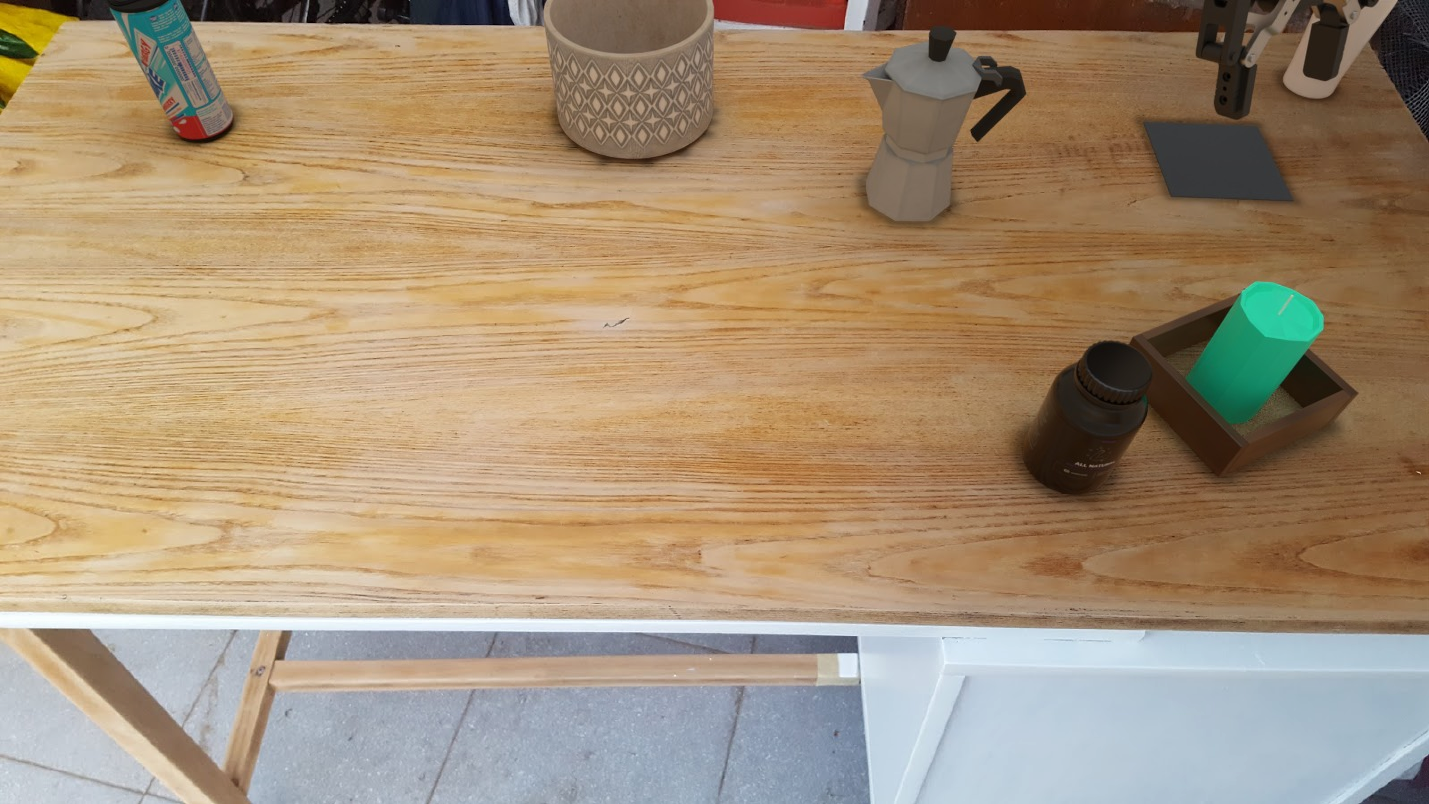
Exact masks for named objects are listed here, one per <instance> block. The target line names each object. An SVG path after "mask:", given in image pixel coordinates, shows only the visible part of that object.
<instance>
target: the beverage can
mask: <svg viewBox="0 0 1429 804" xmlns="http://www.w3.org/2000/svg"><path fill="white" fill-rule="evenodd" d="M105 3H106V5H107V7H108V8H109V10H110V13H111V15H112V16H113V19H114V20H115V22H116V24H117V26H118V28H119V30H120V31H121V33H122V35H123V37H124V39H125V41H126V43H127V45H128V47H129V49H130V51H131V53H132V54H133V56H134V59H135V60H136V61H137V63H138V65H139V67H140V69H141V72H142V73H143V75H144V76H145V78H146V80H147V82H148V84H149V86H150V87H151V89H152V91H153V93H154V95H155V97H156V99H157V100H158V102H159V104H160V106H161V108H162V110H163V112H164V114H165V116H166V117H167V120H168V121H169V123H170V125H171V126H172V128H173V130H174V132H175V133H176V134H177V136H179V137H180V138H181V139H183V140H185V141H187V142H189V143H190V142H191V143H207V142H211V141H214V140H216V139H219V138H220V137H223V136H225V134H227V133H228V132H229V131H230V130H231V129H232V127H233V125H234V113H233V110H232V109H231V106H230V104H229V102H228V100H227V97H226V96H225V93H224V91H223V89H222V87H221V85H220V83H219V81H218V78H217V76H216V75H215V72H214V70H213V68H212V65H211V63H210V61H209V59H208V57H207V55H206V52H205V51H204V48H203V46H202V43H201V41H200V40H199V38H198V35H197V33H196V31H195V29H194V27H193V25H192V23H191V21H190V19H189V16H188V14H187V12H186V10H185V8H184V6H183V4H182V2H181V0H105Z"/></svg>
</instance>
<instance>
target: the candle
mask: <svg viewBox="0 0 1429 804" xmlns="http://www.w3.org/2000/svg"><path fill="white" fill-rule="evenodd" d="M1240 293H1241V294H1240V296H1239V297H1238V299H1237V300H1236V302H1235V303H1234V305H1233V306H1232V308H1231V309H1230V311H1229V312H1228V314H1227V316H1226V317H1225V319H1224V320H1223V322H1222V323H1221V325H1220V326H1219V328H1218V329H1217V331H1216V332H1215V334H1214V336H1213V337H1211V338H1210V340H1209V342H1208V343H1207V345H1206V346H1205V348H1203V349H1204V350H1203V351H1202V352H1201V354H1200V356H1199V357H1198V359H1197V360H1196V361H1195V363H1194V365H1193V366H1192V368H1191V370H1190V371H1189V372H1188V374H1187V375H1186V378H1185V379H1186V380H1187V381H1188V382H1189V383H1190V384H1191V385H1192V386H1193V387H1194V388H1195V390H1196V391H1197V392H1198V393H1199V394H1200V395H1201V396H1202V397H1203V398H1204V399H1205V400H1206V401H1207V402H1208V403H1209V404H1210V405H1211V406H1212V407H1213V408H1214V409H1215V410H1216V411H1217V412H1218V413H1219V414H1220V415H1221V416H1222V417H1223V418H1224V419H1225V420H1226V421H1227V422H1228V423H1229V424H1230V425H1237V424H1238V425H1239V424H1246V423H1247V422H1249V421H1250V420H1251V419H1253V418H1254V417H1256V416H1257V415H1258V414H1259V412H1260V411H1261V410H1262V408H1263V407H1264V406H1265V404H1267V402H1268V401H1269V399H1270V398H1271V397H1272V396H1273V394H1274V393H1275V392H1276V390H1277V389H1278V388H1279V387H1280V384H1281V383H1282V381H1283V380H1284V379H1285V378H1286V376H1287V375H1288V374H1289V372H1290V371H1291V370H1292V369H1293V367H1294V366H1295V365H1296V363H1297V362H1298V361H1299V360H1300V358H1301V357H1302V356H1303V355H1304V353H1305V352H1306V351H1307V349H1308V348H1309V349H1310V347H1311V346H1312V344H1313V343H1314V342H1315V340H1316V339H1317V338H1318V337H1319V336H1320V335H1321V333H1322V332H1323V330H1324V318H1325V317H1324V316H1325V315H1324V314H1323V313H1322V311H1321V310H1320V309H1319V307H1318V306H1317V304H1316V303H1315V301H1314V300H1313V299H1310V298H1309V297H1307V296H1305V295H1303V294H1302V293H1300V292H1299V291H1297V290H1295V289H1292V288H1290V287H1287V286H1284V285H1282V284H1279V283H1277V282H1273V281H1257V280H1255V281H1254V282H1253V283H1251V284H1250V285H1249V286H1247V287H1246V288H1244V289H1243V290H1242V291H1241V292H1240Z"/></svg>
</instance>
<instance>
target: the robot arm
mask: <svg viewBox="0 0 1429 804" xmlns="http://www.w3.org/2000/svg"><path fill="white" fill-rule="evenodd" d="M1378 1H1379V0H1204V1H1203V7H1202V12H1201V17H1200V24H1199V29H1198V36H1197V40H1196V47H1195V57H1196V58H1197V59H1200V60H1204V61H1208V62H1212V63H1216V64H1217V66H1218V68H1217V69H1218V70H1217V78H1216V85H1215V91H1214V97H1213V107H1214V110H1215V113H1216V114H1217V115H1218V116H1221V117H1225V118H1228V119H1231V120H1234V121H1238V120H1241V119H1243V118H1246V117H1247V116H1248V115H1249V114H1250V112H1251V106H1252V100H1253V94H1254V89H1255V82H1256V77H1257V72H1258V71H1257V70H1258V64H1257V62H1258V59H1259V58H1260V56H1261V55H1262V53H1263V51H1264V50H1265V48H1266V46H1267V44H1268V43H1269V41H1270V39H1271V38H1272V37H1274V36H1277V35H1279V34H1280V33H1281V32H1283V30H1284V28H1286V25H1287V23H1288V22H1289V21H1290V18H1291V17H1292V16H1294V15H1297V14H1299V13H1300V12H1302V11H1303V10H1304V9H1305V8H1307V7H1310V8H1311V10H1312V13H1313V12H1314V14H1315V17H1316V18H1319V19H1320V21H1317V22H1315V23H1312V26H1311V31H1310V36H1309V41H1308V46H1307V51H1306V56H1305V61H1304V66H1303V74H1304V75H1305V76H1306V77H1308V78H1313V79H1317V80H1321V81H1328V80H1330V79H1333V78H1335V77H1336V76H1337V75H1338V72H1339V68H1340V63H1341V61H1342V58H1343V53H1344V52H1343V51H1344V49H1345V44H1346V40H1347V35H1348V31H1349V26H1350V24H1353V23H1355V22H1356V20H1357V19H1358V17H1359V15H1360V11H1361V10H1362V9H1363V8H1364V7H1374V6H1375V5H1376V4H1377V3H1378ZM1255 3H1256V4H1257V7H1259V9H1260V10H1261V11H1262V12H1265V13H1266V14H1262V13H1256V12H1253V11H1252V8H1253V7H1254V5H1255ZM1251 11H1252V12H1251ZM1219 26H1221V27H1223V28H1224V31H1225V32H1224V33H1223V35H1222V37H1221V39H1220V40H1217V38H1218V32H1219ZM1249 30H1251V31H1253V33H1252V34H1251V36H1250V38H1249V40H1248V41H1247V43H1246V44H1245V45H1244V44H1243V43H1244V38H1245V32H1246V31H1249Z"/></svg>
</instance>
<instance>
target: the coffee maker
mask: <svg viewBox="0 0 1429 804" xmlns="http://www.w3.org/2000/svg"><path fill="white" fill-rule="evenodd" d="M956 36H957V31H956V30H955V29H953V28H952V27H950V26H946V25H941V24H940V25H936V26H932V27H931V28H930V30H929V32H928V40H925V41H921V42H918V43H913V44H908V45H906V46H902V47H896V48H894V50H893V52H892V54H891V56H890V57H889V60H888V61H886V62H884V63H882V64H880V65H878V66H876V67H874V68H872V69H870V70H867V71H865V72H864V73H861V74H860V77H861V78H862V79H865V80H866V81H868V83H869V86H870V87H871V90H872V92H873V95H874V96H875V99H876V101H877V103H878V106H879V108H880V110H881V120H882V121H881V122H882V130H883V132H884V134H883V135H882V138H881V141H880V143H879V145H878V148H877V150H876V154H875V156H874V159H873V161H872V163H871V167H870V169H869V171H868V174H867V177H866V180H865V183H864V185H865V189H866V190H865V192H866V197H867V202H868V206H869V207H871V208H872V209H875V210H876V211H877V212H879V213H881V214H883V215H884V216H886V217H887V218H889V219H891V220H893V221H895V222H931V221H932V220H933V219H934V218H935V217H937V216H938V215H939V214H940V213H942V212H943V211H944V210H945V209H947V208H948V207H949V206H950V205H951V195H952V179H953V164H954V146H955V143H956V142H957V138H958V136H959V134H960V132H961V129H962V127H963V124H964V123H965V120H966V117H967V115H968V112H969V109H970V108H971V105H972V102H973V100H976V99H979V98H984V97H986V96H989V95H992V94H995V93H999V92H1002V91H1004V90H1005V91H1006V90H1008V91H1007V92H1006V93H1005V94H1004V96H1002V97H1001V98H1000V100H998V102H996V104H994V106H992V107H991V108H990V109H989V110H988V111H987V112H986V113H985V115H983V116H982V117H981V118H980V120H978V121H977V122H976V123H975V124H974V126H972V127H971V128H970V129H969V131H970V132H969V133H970V135H971V137H972V139H974V140H975V141H976V143H979V142H980V141H981V140H982V139H983V138H984V137H985V136H986V135H987V134H988V133H989V132H990V131H992V129H993V128H995V126H996V125H998V123H999V122H1001V120H1002V119H1003V118H1004V117H1006V115H1008V114H1009V113H1010V112H1011V111H1012V109H1014V108H1015V107H1016V106H1017V105H1018V104H1019V103H1020V102H1021V101H1022V100H1023V99H1024V98H1025V97H1026V95H1027V90H1026V86H1025V83H1024V79H1023V76H1022V72H1021V69H1020V68H1017V67H1014V66H1012V65H1001V66H999V65H998V62H997V61H996V59H994V57H992V55H977V57H976V58H974V57H973V56H972V55H971V54H969V52H967V51H966V50H965V48H960V47H956V46H953V43H954V41H955V38H956Z"/></svg>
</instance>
